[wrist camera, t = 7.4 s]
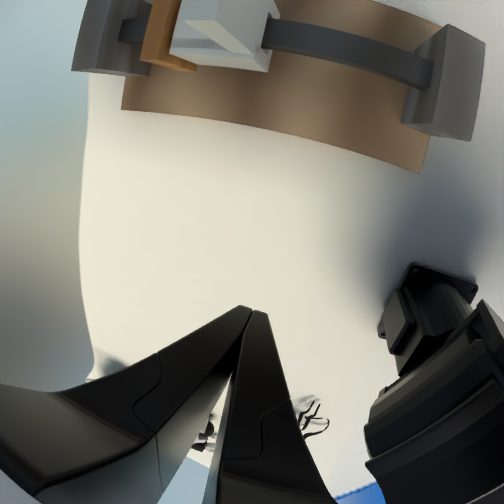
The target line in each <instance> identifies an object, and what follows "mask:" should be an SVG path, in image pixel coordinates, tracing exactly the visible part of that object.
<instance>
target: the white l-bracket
mask: <svg viewBox="0 0 504 504" xmlns="http://www.w3.org/2000/svg"><path fill="white" fill-rule="evenodd" d="M267 18H274V19H280V13H279V11H278V9H277V7H276V4H275V2H274V0H182V2H181V6H180V10H179V13H178V17H177V21H176V25H175V29H174V33H173V38H172V42H171V46H170V51H169V54H171V55H174V56H177V57H180V58H182V59H185V60H187V61H190V62H192V63H195V64H197V65H210V66H221V67H231V68H239V69H247V70H254V71H261V72H267V73H268V69H269V64H270V59H271V55H272V50H270V49H263V48H261V43H262V39H263V34H264V30H265V25H266V21H267Z"/></svg>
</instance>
